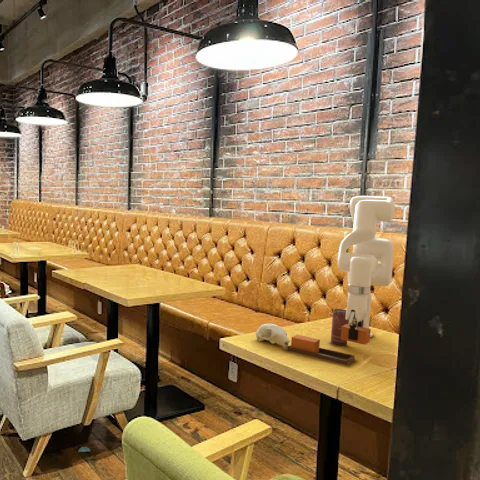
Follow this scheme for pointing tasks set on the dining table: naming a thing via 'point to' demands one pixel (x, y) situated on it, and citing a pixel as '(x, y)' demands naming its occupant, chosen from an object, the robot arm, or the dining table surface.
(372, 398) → the dining table surface
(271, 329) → the animal skull
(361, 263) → the robot arm
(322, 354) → the frame
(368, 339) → the back pad right
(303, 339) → the back pad left
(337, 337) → the can
